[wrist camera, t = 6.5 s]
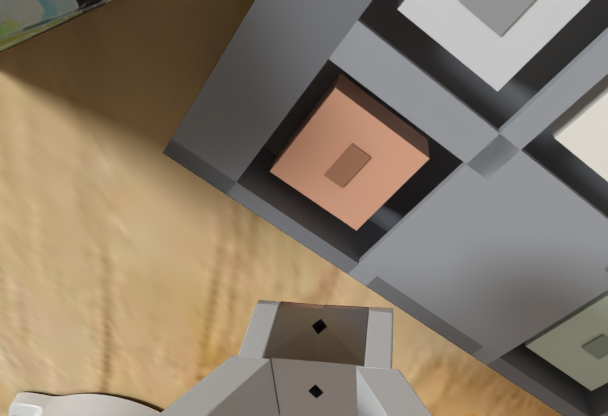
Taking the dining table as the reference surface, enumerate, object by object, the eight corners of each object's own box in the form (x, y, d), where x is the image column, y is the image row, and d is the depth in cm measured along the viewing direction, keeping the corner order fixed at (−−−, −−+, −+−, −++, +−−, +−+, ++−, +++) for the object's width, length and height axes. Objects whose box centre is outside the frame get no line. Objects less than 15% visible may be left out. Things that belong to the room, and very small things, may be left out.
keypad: (584, 360, 27) (619, 452, 23) (209, 98, 22) (162, 152, 18) (887, 192, 20) (1024, 281, 16) (429, -257, 15) (443, -312, 10)
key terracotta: (358, 208, 20) (356, 232, 19) (278, 152, 20) (269, 172, 18) (427, 139, 18) (429, 159, 17) (340, 73, 17) (335, 89, 16)
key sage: (581, 363, 23) (591, 392, 22) (518, 320, 22) (526, 348, 21) (662, 318, 21) (680, 347, 20) (597, 268, 20) (610, 296, 19)
